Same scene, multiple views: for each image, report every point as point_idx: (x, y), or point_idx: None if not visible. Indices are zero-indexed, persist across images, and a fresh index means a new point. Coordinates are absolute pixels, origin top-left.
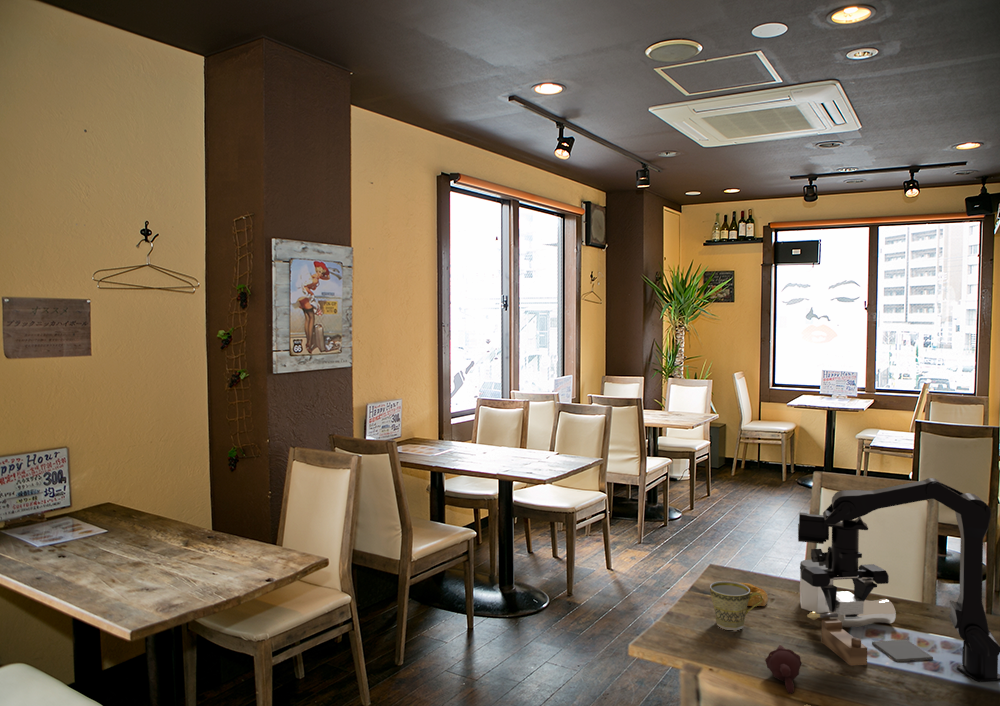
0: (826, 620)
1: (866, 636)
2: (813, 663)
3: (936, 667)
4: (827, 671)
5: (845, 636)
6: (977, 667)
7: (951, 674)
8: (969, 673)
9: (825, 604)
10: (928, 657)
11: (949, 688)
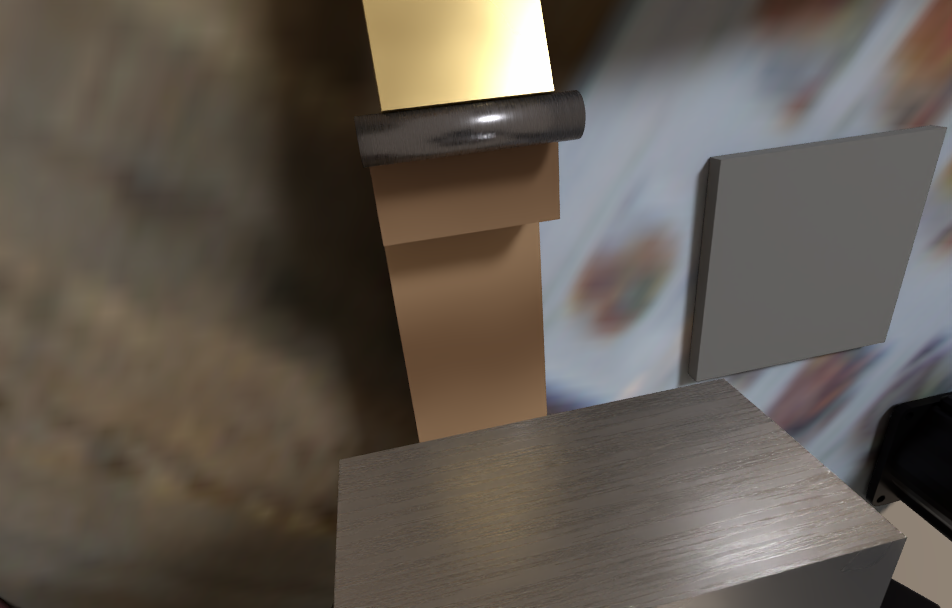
0: (412, 177)
1: (758, 20)
2: (197, 438)
3: (821, 406)
4: (259, 509)
5: (489, 350)
6: (931, 512)
7: (826, 455)
8: (888, 468)
9: (339, 469)
10: (862, 344)
11: None
